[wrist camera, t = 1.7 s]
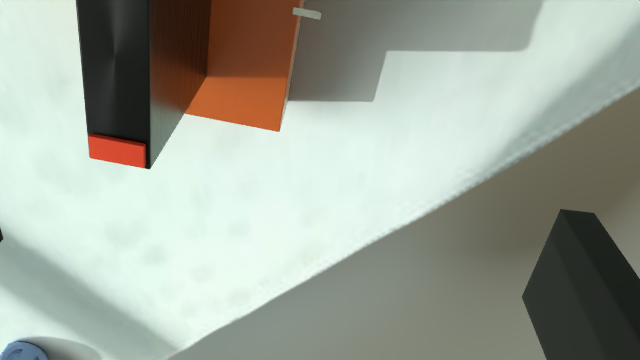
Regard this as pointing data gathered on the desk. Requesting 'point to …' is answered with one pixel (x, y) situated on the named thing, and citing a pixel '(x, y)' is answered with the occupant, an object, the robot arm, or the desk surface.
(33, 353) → the decorative dice
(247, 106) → the orange box
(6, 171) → the desk surface
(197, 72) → the black slab
